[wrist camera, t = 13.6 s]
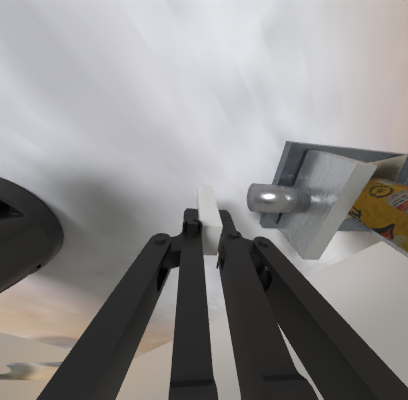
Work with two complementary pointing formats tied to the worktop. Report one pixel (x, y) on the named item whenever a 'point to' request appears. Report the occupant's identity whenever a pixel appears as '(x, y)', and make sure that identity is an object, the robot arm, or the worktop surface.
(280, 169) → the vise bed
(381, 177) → the condiment
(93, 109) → the worktop surface
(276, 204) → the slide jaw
